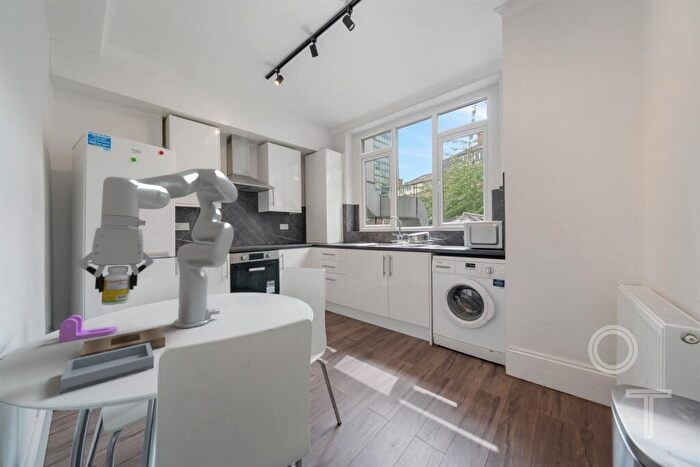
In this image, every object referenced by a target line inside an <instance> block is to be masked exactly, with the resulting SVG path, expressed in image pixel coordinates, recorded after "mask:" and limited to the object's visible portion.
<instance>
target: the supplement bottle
mask: <svg viewBox="0 0 700 467" xmlns="http://www.w3.org/2000/svg"><path fill="white" fill-rule="evenodd" d="M128 271H129V265H111V266H108V268H107V273H108V274H106V275H105V276H104V279H103V292H101V304H102V305H104V306H114V305H115V306H116V305H121V304H126V303H128V302H129V301H130V290H131V289H130V279H131V274H129V273H128Z"/></svg>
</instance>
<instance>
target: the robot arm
mask: <svg viewBox="0 0 700 467" xmlns="http://www.w3.org/2000/svg"><path fill="white" fill-rule="evenodd" d="M234 184H235V183H233V182H232V181H231V180H230V179H229V178H228V176H226V175H225V174H224V173H223V172H222V171H220V170H218V169H217V168H216V169H215V168H191V169H186V170H183V171H180V172H179V171H178V172H175V173H171V174H163V175H158V176H151V177H144V178H139V179H132V178H128V177H123V176H108V177H106V178H104V180H103V182H102V198H101V212H100V214H101V216H100V227H96V229H95V232H94V236H93V240H92V241H93V242H92V247H91V252H89V253H88V254H87V255H85V256H84V257H83V258H81V260H79V261H77V263H76V265H77V267H80V268H82V269H83V270H84V271H86V272H87V273H89V274H91V275H92V276H94V277H95V284H94V289H95V290H98V294H99V293H101V294H102V292H103V279H104V277H105V276H104V275H103V274H104V273H103V272H104V269H105V268H106V266H108V267H110V266H130V268H131V274H130V276H131V279H130V290H131V291H133V290H134V287H137V286H138V275H139V274H141V273H142V272H143V271H144V270H146V269H147V268H149V266H151V265H152V264H154V260H153V259H152V258H151V257H150V256H148V254H146V253H145V252H144V237H143V236H144V234H143V230H142V229H139V227H140V226H146V220H142V219H140V210H160V209H164V208H165V207H167V206H168V205H169V203H170V201H171V199H172V200H173V199H179V198H180V199H181V198H185V197H187V196H190V195H191V194H194V193H195V194H196V198H197V200H198V203H199V208H200V213H199V216H198V218H197V220H196V222H195V224H194V226H193V229H192V231H191V239H192V240H193V242H195V243H193V242H191V243H185V244H183V245H181V246H180V247H179V248H178V250H177V253H176V260H177V266H178V271H179V283H178V286H179V287H178V315H177V316H178V317H177V318H176V319H175V320H174V321H173V322H172V325H173V327H174V328H180V329H184V328H185V329H186V328H187V329H188V328H195V326H196V327H200V326H202V325H206V324H208V323H210V322H211V318H212V317H211V316H212V315H213V316H214V315H219V314H220V309H219V308H218V309H212V308H211V309H208V308H207V307H208V306H207V305H208V275H207V274H208V273H207V272H206V270H205V269H204V268H210V269H211V268H220V267H222V266H223V265H224V264H225V262H226V260H227V259H228V258H227V257H228V255H229V252H230V249H231V246H232V243H233V239H234V228H233V225H232V224H230V223H229V222H227V221H221V220H222V219H223V218H222V217H223V216H222V212H221V210H220V208H218V206H217V205H216V203H217V204H221V203H223V204H231V203H234V202H236V201H237V199H238V197H239V195H238V194H239V193H238V192H239V191H238V189H237V187H236V186H235V185H234ZM143 260H145V262H144V263H143ZM89 262H91V264H92V265H94V266H97V268H95V267H94V266H92V265H90V264H89ZM141 263H142V264H141ZM139 264H141V265H140V266H137V265H139Z"/></svg>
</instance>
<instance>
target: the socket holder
mask: <svg viewBox="0 0 700 467" xmlns="http://www.w3.org/2000/svg"><path fill="white" fill-rule="evenodd" d="M145 343H150V345H151V348H152V350H155V349H159V347H160V348H164V347H166V335H165V334H164V331H163V329H162V327H161V326H159V327H153V328H149V329H143V330H138V331H132V332H127V333H123V334H122V333H121V334H116V335H109V336H106V337H105V336H104V337H102V338H101V337H100V338H96V339H91V340H84V341H83V345H82V348H81V351H80V354H79V355H80V357H79V358H82V357H86V356H91V355H95V354H100V353H104V352H109V351H113V350H118V349H122V348H127V347H132V346H136V345H141V344H145Z"/></svg>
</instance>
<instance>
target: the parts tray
mask: <svg viewBox="0 0 700 467" xmlns="http://www.w3.org/2000/svg"><path fill="white" fill-rule="evenodd" d="M153 352H154V351H153V349H152V348H151V345H150V343H145V344H141V345H136V346H132V347H127V348H122V349H118V350H113V351H109V352H104V353H100V354H95V355H91V356H86V357H82V358H80V357H78V358H74V359H69V360H67V362H66V364H65V367H64V370H63V372H62V375H61V378H60V388H59V390H60V391H59V394H64V393H67V392H71V391H74V390H77V389H82V388H84V387H85V388H86V387H89V386H91V385H96V384H99V383H102V382H107V381H110V380H111V381H112V380H114V379H117V378H120V377H121V378H122V377H125V376H128V375H132V374H135V373H139V372H143V371H148V370H150V369H153V368H154V364H155V355H154V353H153ZM63 392H64V393H63Z"/></svg>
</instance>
